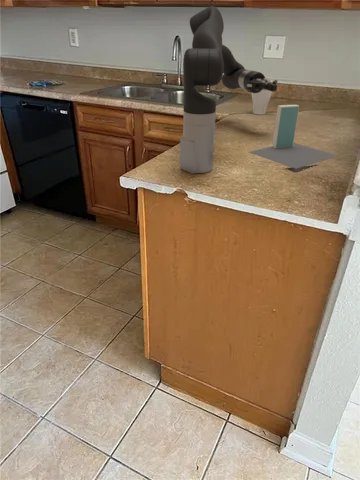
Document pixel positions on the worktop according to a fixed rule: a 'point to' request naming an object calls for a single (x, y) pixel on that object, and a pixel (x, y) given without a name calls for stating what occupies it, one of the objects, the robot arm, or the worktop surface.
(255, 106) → the cup
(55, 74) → the worktop surface
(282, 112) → the tile
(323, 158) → the mat
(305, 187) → the worktop surface
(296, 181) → the worktop surface
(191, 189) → the worktop surface
